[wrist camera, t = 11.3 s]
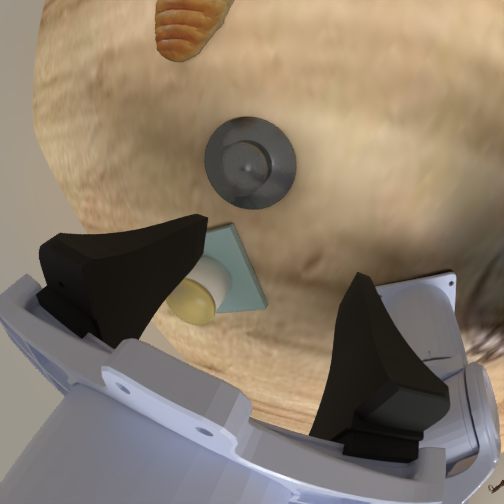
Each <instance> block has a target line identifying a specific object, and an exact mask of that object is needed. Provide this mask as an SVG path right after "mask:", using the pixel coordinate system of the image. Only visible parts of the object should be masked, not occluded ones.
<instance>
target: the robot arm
mask: <svg viewBox="0 0 504 504" xmlns="http://www.w3.org/2000/svg"><path fill="white" fill-rule="evenodd" d="M207 223H208V217H205V216H202V215H199V214H193V215H189V216H185V217H182V218H178V219H175V220H171V221H168V222H165V223H161V224H157V225H153V226H149V227H146V228H141V229H137V230H131V231H125V232H117V233H107V234H67V233H59V234H57V235H56V236H54V237H53V238H51V239H50V240H48V241H47V242H45V243H44V244H42V245H41V246H40V249H39V260H40V264H41V267H42V271H43V274H44V277H45V280H46V283H47V286H46V287H44V288H43V289H42V288H41V286H40V284H39V283H38V282H37V281H35V280H34V279H33V278H32V277H31V276H30V275H28V274H25V275H24V276H23V277H21V278H20V279H19V280H18V281H16V282H15V283H14V284H13V285H11V286H10V287H9V288H8V289H7V290H6V291H4V292H3V293H2V294H1V295H0V322H1V324H2V325H3V327H4V329H5V330H6V332H7V334H8V336H9V337H10V339H11V340H12V341H13V343H14V344H15V345H16V346H17V347H18V348H19V349H20V351H21V352H22V353H23V354H24V355H25V356H26V357H27V358H28V359H29V361H30V362H31V363H32V364H33V365H34V366H35V367H36V368H37V369H38V370H39V371H40V372H41V373H42V374H43V375H44V377H46V379H47V380H48V381H49V382H50V383H51V384H52V385H53V386H54V387H56V388H57V389H58V390H59V391H60V392H61V393H62V394H63V395H64V396H65V398H64V399H63V400H62V401H61V403H60V404H59V405H58V406H57V408H56V409H55V410H54V411H53V413H52V414H51V415H50V416H49V418H48V419H47V420H46V422H45V423H44V424H43V425H42V427H41V428H40V429H39V431H38V432H37V433H36V435H35V436H34V437H33V438H32V440H31V441H30V442H29V444H28V445H27V446H26V448H25V449H24V451H23V452H22V453H21V455H20V456H19V458H18V459H17V460H16V462H15V463H14V464H13V466H12V467H11V469H10V470H9V472H8V473H7V474H6V476H5V477H4V479H3V480H2V482H1V483H0V504H468V498H469V497H470V496H472V494H473V493H474V492H475V491H476V490H477V489H478V488H479V487H480V486H481V485H482V484H483V483H484V482H485V481H486V480H487V479H488V477H489V476H490V475H491V474H492V472H493V471H494V470H495V468H496V466H497V462H498V459H499V457H500V453H501V441H500V426H499V416H498V410H497V404H496V400H495V396H494V392H493V388H492V385H491V382H490V379H489V376H488V374H487V372H486V369H485V368H484V366H482V365H479V364H477V363H476V362H472V363H470V364H468V361H467V357H466V353H465V349H464V345H463V341H462V338H461V334H460V331H459V327H458V324H457V321H456V317H455V314H454V310H455V295H456V275H455V273H454V272H448V273H443V274H439V275H434V276H429V277H424V278H419V279H414V280H408V281H403V282H398V283H392V284H386V285H381V286H376V287H375V286H374V284H373V282H372V280H371V278H370V277H369V276H367V275H364V274H361V273H359V272H357V274H356V276H355V277H354V279H353V281H352V283H351V285H350V287H349V289H348V291H347V292H346V294H345V296H344V298H343V300H342V302H341V303H340V306H339V310H338V314H337V319H336V324H335V333H334V342H333V351H332V360H331V366H330V371H329V375H328V379H327V383H326V387H325V390H324V393H323V397H322V400H321V403H320V406H319V409H318V412H317V415H316V418H315V420H314V423H313V426H312V428H311V431H310V433H309V436H308V435H304V434H301V433H297V432H294V431H290V430H287V429H284V428H281V427H278V426H275V425H272V424H269V423H266V422H263V421H260V420H257V419H254V418H252V417H250V415H251V412H252V406H251V401H250V400H249V399H248V398H247V397H246V395H245V394H244V393H243V392H242V391H241V390H240V389H238V388H236V387H235V386H233V385H231V384H229V383H227V382H226V381H224V380H222V379H220V378H217V377H215V376H213V375H210V374H208V373H206V372H204V371H202V370H199V369H197V368H195V367H193V366H191V365H189V364H187V363H185V362H182V361H181V360H178V359H177V358H175V357H173V356H171V355H169V354H167V353H164V352H163V351H161V350H159V349H157V348H155V347H153V346H151V345H150V344H148V343H145V342H142V341H140V340H139V338H140V336H141V335H142V333H143V331H144V330H145V328H146V326H147V325H148V323H149V322H150V320H151V319H152V317H153V316H154V314H155V313H156V312H157V310H158V309H159V307H160V306H161V304H162V303H163V302H164V301H165V299H166V298H167V297H168V296H169V295H170V294H171V293H172V291H173V290H174V289H175V288H176V287H177V286H178V285H179V284H180V283H181V282H182V280H183V279H184V278H185V277H186V276H187V275H188V274H189V273H190V272H191V270H192V269H193V268H194V267H195V265H196V264H197V262H198V261H199V259H200V258H201V256H202V255H203V253H204V245H205V238H206V230H207ZM451 281H453V282H452V283H449V282H451ZM379 295H381V297H380V296H379Z"/></svg>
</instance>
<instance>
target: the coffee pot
mask: <svg viewBox="0 0 504 504" xmlns="http://www.w3.org/2000/svg"><path fill="white" fill-rule="evenodd" d="M489 486H491V485H489ZM489 486H488V488H489V490H490V491H491V492H492V493H494V492H496V491H497V490H498V489H499V488H500V487H501V486H504V480H502V481H501V483H500V484H499V485H498V486H496V487H495V488H493V486H491V487H492V488H493V490H491V489H490V487H489Z"/></svg>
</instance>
